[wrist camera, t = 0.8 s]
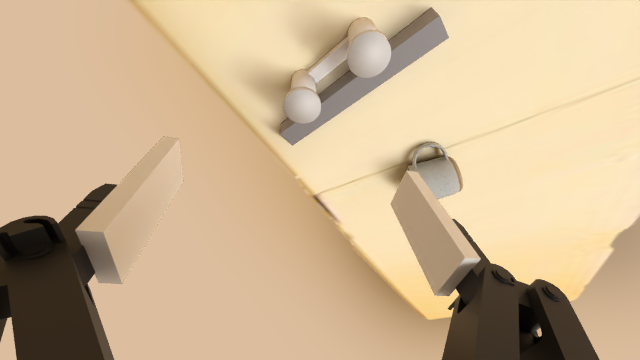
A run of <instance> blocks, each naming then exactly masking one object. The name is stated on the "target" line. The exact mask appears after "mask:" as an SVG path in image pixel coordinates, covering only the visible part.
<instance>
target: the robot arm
mask: <svg viewBox="0 0 640 360" xmlns="http://www.w3.org/2000/svg"><path fill="white" fill-rule="evenodd" d="M183 181H184V180H183V170H182V161H181V151H180V142H179V139H178V138H170V137H162V138H161V139H160V141H159V142H158V143H157V144H156V145H155V146H154V147H153V148H152V149H151V150H150V151H149V152H148V153H147V154H146V155H145V157H144V158H143V159H142V160H141V161H140V162H139V163H138V164H137V165H136V166H135V167H134V168H133V169H132V170H131V171H130V172H129V173H128V174H127V176H126V177H125V178H124V179H123V180H122V181H121V182H120V183H119V184H118V185H114V184H104V185H102V186H100V187H99V188H97V189H95V190H93V191H92V192H91V193H90V194H88V195H87V196H86V197H85V198H84V200H83V201H81V202H80V203H79V204H78V205H77V206H76V208H74V209H73V210H72V211H71V212H70V213H69V214H68V215H67V216H65V217H64V218H63V220H61V221H60V222H59V223H57V222H56V221H55V219H53V218H51V217H48V216H31V217H25V218H21V219H18V220H15V221H12V222H10V223H8V224H6V225H5V226H3V227H1V228H0V341H1V337H2V334H3V331H4V327H5V324H6V321H7V318H9V317H12V325H13V332H14V341H15V348H16V356H17V360H114V358H113V355H112V352H111V349H110V346H109V343H108V340H107V338H106V335H105V332H104V329H103V326H102V323H101V320H100V317H99V314H98V311H97V308H96V305H95V303H94V300H93V297H92V294H91V291H90V288H89V286H88V284H87V283H88V282H89V280H90V279H91V278H92V276H93V275H94V274H95V275H96V278H97V280H98V282H99V283H115V284H122V283H123V282H124V280H125V278H126V277H127V275H128V273H129V272H130V270H131V268H132V267H133V265H134V263H135V262H136V260H137V258H138V256H139V255H140V253H141V252H142V250H143V248H144V247H145V245H146V243H147V242H148V240H149V238H150V237H151V235H152V233H153V232H154V230H155V228H156V227H157V225H158V223H159V222H160V220H161V218H162V216H163V215H164V213H165V211H166V210H167V208H168V206H169V205H170V203H171V201H172V200H173V198H174V196H175V195H176V193H177V191H178V190H179V188H180V186H181V185H182V183H183ZM391 206H392V208H393V210H394V212H395V214H396V216H397V218H398V220H399V223H400V225H401V227H402V229H403V231H404V233H405V235H406V237H407V239H408V241H409V243H410V245H411V247H412V249H413V251H414V253H415V256H416V258H417V260H418V262H419V264H420V266H421V268H422V270H423V272H424V274H425V276H426V278H427V280H428V282H429V284H430V286H431V289H432V291H433V293H434V295H436V296H449V295H450V294H451V293H452V292H453V291H454V290H455V289H456V290H457V291H458V293H459V296H458V297H457V298H456V299H455V301H454V302H453V303H452V304H451V305H450V306H449V308H448V309H449V310H451V309H452V308H453V307H454V310H453V314H452V319H451V323H450V328H449V332H448V336H447V341H446V344H445V349H444V353H443V357H442V360H599V358H598V356H597V354H596V352H595V350H594V348H593V347H592V344H591V342H590V340H589V339H588V337H587V335H586V333H585V331H584V329H583V327H582V325H581V323H580V322H579V319H578V317H577V315H576V314H575V312H574V310H573V308H572V306H571V304H570V302H569V300H568V299H567V297H566V296H565V294H564V293H563V292H562V291H561V290H560V289H559V288H557V287H556V286H555V285H553V284H551V283H549V282H547V281H545V280H541V279H537V280H535V281H534V282H533V283H532V284H531V285H528V284H525V283H522V282H519V281H516V279H515V278H514V277H513V275H512V274H511V273H509V272H508V271H507V270H506V269H504V268H503V267H501V266H499V265H496V264H491V263H490V262H489V260H488V259H487V258H486V256H485V255H484V254H483V252H482V251H481V250H480V248H479V247H478V246H477V244H476V243H475V242H473V239H472V238H471V236H470V235H468V232H467V231H466V230H465V228H464V227H463V226H462V225H461V224H460V223H458V222H457V221H456V220H455V219H451V217H450V216H449V214H448V213H447V212H446V210H445V209H444V208H443V206H442V205H441V204H440V202H439V201H438V199H437V198H436V197H435V195H434V194H433V193H432V191H431V190H430V188H429V187H428V186H427V184H426V183H425V182H424V180H423V179H422V178H421V176H420V175H419V173H418V172H414V171H407V170H406V172H405V174H404V176H403V179H402V181H401V183H400V185H399V187H398V189H397V191H396V193H395V196H394V198H393V200H392V202H391ZM539 328H541V331H542V336H541V337H539V336H538V334H537V331H536V330H538V329H539Z"/></svg>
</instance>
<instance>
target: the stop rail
mask: <svg viewBox="0 0 640 360" xmlns="http://www.w3.org/2000/svg"><path fill="white" fill-rule="evenodd" d="M448 38H449V37H448V34H447V32H446V30H445V27H444V25H443V23H442V20H441V18H440V16H439V15H438V14H437V13H436V12H435V10H434V9H433V8H430V9H429V10H428V11H426V12H425V13H424V14H423V15H421V16H420V17H419V18H417V19H416V20H415V21H413V22H412V23H411V24H410V25H408V26H407V27H406V28H404V29H403V30H402V31H401V32H399V33H398V34H397V35H395V36H394V37H393V38H391V39H390V40H389V41H388V40H387V38H386V36H385V35H384V34H383V33H381V32H379V31H377V29H376V27H375V25H374V23H373V22H372V21H371V20H370V19H368V18H358V19H356V20H355V21H354V22H353V23H352V24H351V25H350V27H349V29H348V36H347V37H346V38H345V39H344V40H343V41H341V42H340V43H339V44H338V45H337V46H336V47H334V48H333V49H332V50H331V51H330V52H328V53H327V54H326V55H325V56H324V57H323V58H321V59H320V60H319V61H318V62H317V63H316V64H314V65H313V66H312V67H311V68H310V69H309V70H306V69H301V70H298V71H296V72H295V73H294V75H293V77H292V82H291V90H290V91H289V92H288V93H287V95H286V96H285V100H284V111H285V114H286V115H287V117H288V119H286V120H285V121H284V122H282V123H281V128H280V134H279V135H281V136H282V137H283V138H284V139H285V140H287V141H288V142H289V143H290V144H291V145H294V144H295V143H297V142H298V141H300V140H301V139H303V138H304V137H306V136H307V135H309V134H310V133H311V132H313V131H314V130H316V129H317V128H319V127H320V126H322V125H323V124H324V123H326V122H327V121H329V120H330V119H332V118H333V117H335V116H336V115H338V114H339V113H340V112H342V111H343V110H345V109H346V108H348V107H349V106H351V105H352V104H353V103H355V102H356V101H358V100H359V99H361V98H362V97H364V96H365V95H367V94H368V93H369V92H371V91H372V90H374V89H375V88H377V87H378V86H380V85H381V84H382V83H384V82H385V81H387V80H388V79H390V78H391V77H393V76H394V75H396V74H397V73H398V72H400V71H401V70H403V69H404V68H406V67H407V66H409V65H410V64H411V63H413V62H414V61H416V60H417V59H419V58H420V57H422V56H423V55H424V54H426V53H427V52H429V51H430V50H432V49H433V48H435V47H436V46H438V45H439V44H440V43H442V42H443V41H445V40H446V39H448ZM346 59H347V62H348V66H349V68H350V71H349V72H347V73H346V74H345V75H343V76H342V77H341V78H339V79H338V80H337V81H336V82H334V83H333V84H332V85H330V86H329V87H328V88H327V89H325V90H324V91H323V92H321V93H320V94H319V95H318V94H317V93H316V83H317V82H318V81H320V80H321V79H322V78H323V77H325V76H326V75H327V74H328V73H330V72H331V71H332V70H333V69H335V68H336V67H337V66H338V65H340V64H341V63H342V62H343V61H345V60H346Z"/></svg>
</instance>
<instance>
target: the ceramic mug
mask: <svg viewBox="0 0 640 360" xmlns="http://www.w3.org/2000/svg"><path fill="white" fill-rule="evenodd" d="M426 147H432V148H433V147H436V148H440V149H441V150H442V152H443V157H441V158H436V159H433V160H429V161H425V162H420V163H416V159H417V156H418V154H419V153H420V152H421V150H422V149H423V148H426ZM408 171H414V172H418V173H419V175H420V176H421V178H422V179H423V180H424V182H425V183H426V184H427V186H428V187H429V188H430V190H431V191H432V193H433V194H434V195H435V197H436V198H437V199H440V198H443V197H446V196H450V195H453V194H455V193H457V192H459V191H461V190H462V188H463V181H462V176H461V173H460V170H459V168H458V166H457V164H456V162H455V161H454V160H453V159H452V158H451V157H448V156H447V153H446V151H445V149H444V148H443V147H442V146H441V145H439V144H437V143H434V142H428V143H425V144H422V145H420V146H419V147H417V149H416V150H415V151H414V154H413V158H412V165H409V166H408Z"/></svg>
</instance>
